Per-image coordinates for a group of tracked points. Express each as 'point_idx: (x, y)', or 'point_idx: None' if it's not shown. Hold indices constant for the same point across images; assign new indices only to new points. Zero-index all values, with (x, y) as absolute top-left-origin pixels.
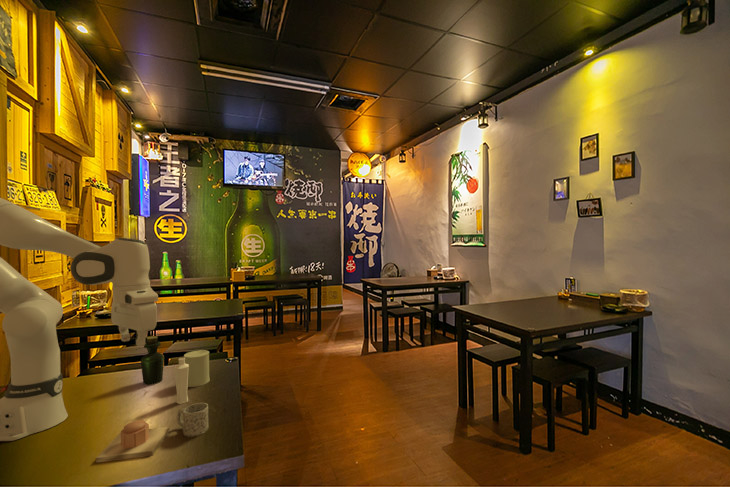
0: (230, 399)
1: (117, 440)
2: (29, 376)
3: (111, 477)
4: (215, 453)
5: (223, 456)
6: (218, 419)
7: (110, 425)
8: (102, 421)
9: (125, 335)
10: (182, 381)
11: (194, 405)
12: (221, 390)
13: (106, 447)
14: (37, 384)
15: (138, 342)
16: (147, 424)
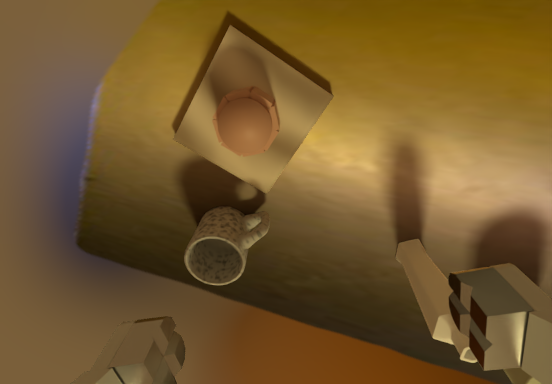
0: (319, 320)
1: (289, 83)
2: None
3: (137, 48)
4: (105, 227)
5: (86, 233)
6: None
7: (430, 82)
8: (482, 67)
9: (484, 334)
10: (419, 289)
11: (241, 263)
12: (388, 325)
13: (270, 54)
14: None
15: (105, 350)
16: (244, 154)
